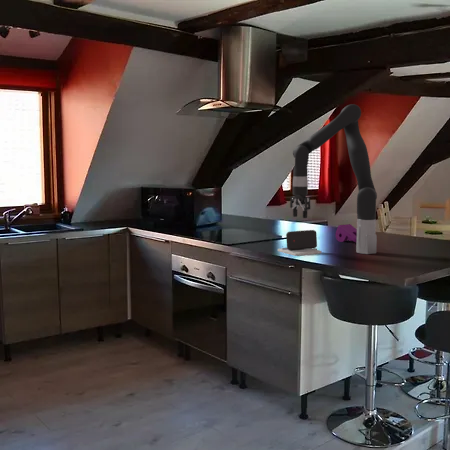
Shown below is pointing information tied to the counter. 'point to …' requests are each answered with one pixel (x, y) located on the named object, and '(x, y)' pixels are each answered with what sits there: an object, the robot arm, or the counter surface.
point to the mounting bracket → (346, 233)
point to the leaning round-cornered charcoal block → (301, 240)
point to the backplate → (299, 252)
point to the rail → (301, 250)
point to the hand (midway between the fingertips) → (299, 217)
